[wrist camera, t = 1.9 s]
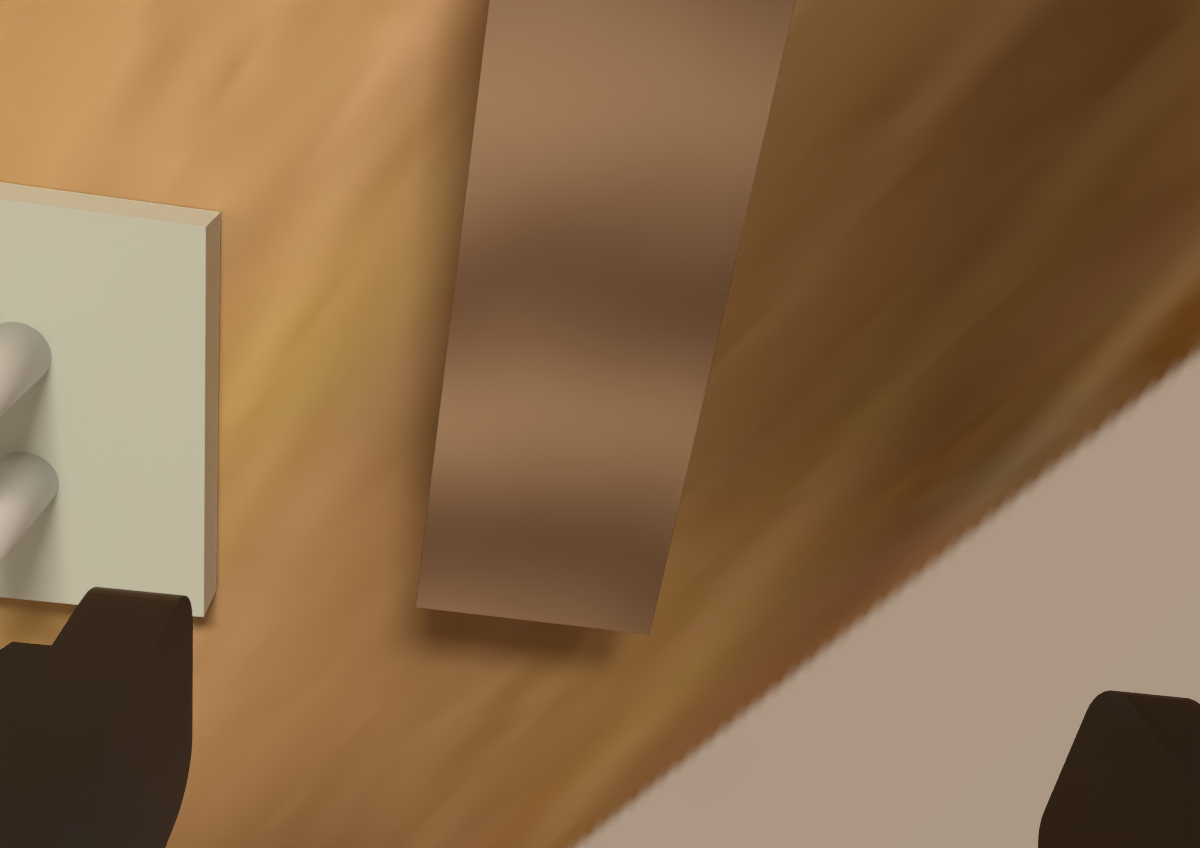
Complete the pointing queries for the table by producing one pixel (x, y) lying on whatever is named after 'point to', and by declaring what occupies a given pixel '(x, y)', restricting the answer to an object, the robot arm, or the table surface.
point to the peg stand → (107, 396)
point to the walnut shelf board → (590, 297)
